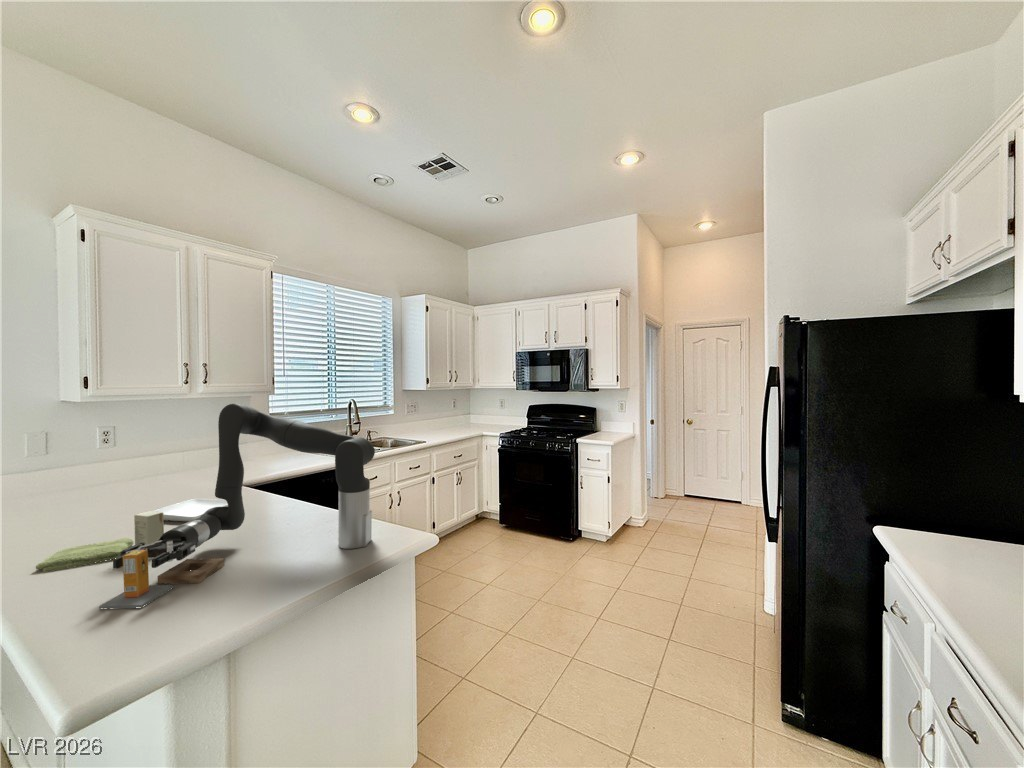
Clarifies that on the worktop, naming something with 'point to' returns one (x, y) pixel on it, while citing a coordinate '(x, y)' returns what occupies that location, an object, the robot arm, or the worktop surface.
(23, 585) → the worktop surface
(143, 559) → the supplement box
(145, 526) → the skincare box
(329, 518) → the worktop surface
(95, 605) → the worktop surface
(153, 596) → the grey rubber pad
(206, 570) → the walnut collar
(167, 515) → the salad plate
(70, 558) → the washcloth
